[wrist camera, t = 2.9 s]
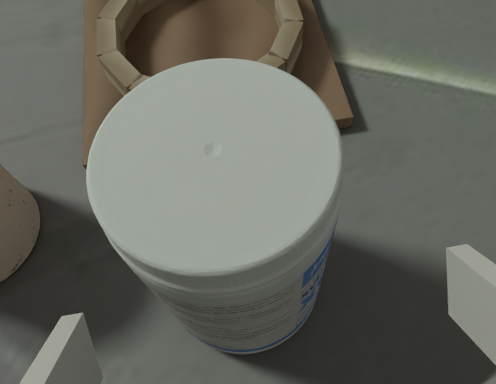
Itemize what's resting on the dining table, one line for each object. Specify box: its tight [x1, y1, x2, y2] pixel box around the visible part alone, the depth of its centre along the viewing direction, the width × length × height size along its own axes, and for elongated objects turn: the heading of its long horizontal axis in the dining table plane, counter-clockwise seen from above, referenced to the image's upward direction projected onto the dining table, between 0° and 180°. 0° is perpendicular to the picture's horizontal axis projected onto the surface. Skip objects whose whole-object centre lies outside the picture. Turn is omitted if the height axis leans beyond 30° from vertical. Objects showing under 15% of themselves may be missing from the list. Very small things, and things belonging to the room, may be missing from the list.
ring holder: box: [83, 0, 353, 170], centre depth 36 cm, size 20×20×4 cm
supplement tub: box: [86, 58, 344, 354], centre depth 22 cm, size 10×10×15 cm
